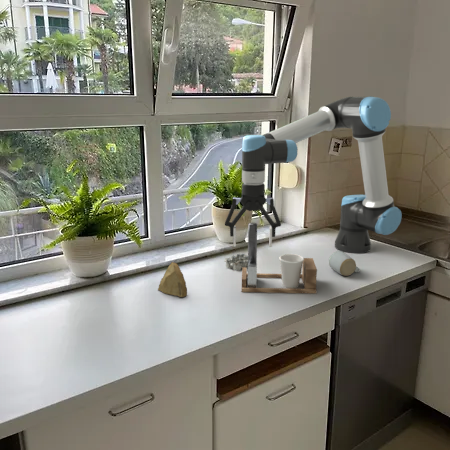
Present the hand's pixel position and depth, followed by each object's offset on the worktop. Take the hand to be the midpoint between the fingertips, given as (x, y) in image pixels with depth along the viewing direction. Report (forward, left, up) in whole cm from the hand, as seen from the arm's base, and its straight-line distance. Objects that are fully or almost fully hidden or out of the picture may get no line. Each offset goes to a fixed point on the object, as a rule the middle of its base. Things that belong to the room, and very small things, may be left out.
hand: (252, 245), depth 159 cm
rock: (+27, +9, -14) cm, 32 cm away
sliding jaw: (0, 0, -14) cm, 14 cm away
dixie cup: (-13, 0, -14) cm, 20 cm away
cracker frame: (-9, 0, -14) cm, 17 cm away
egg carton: (+5, -18, -15) cm, 24 cm away
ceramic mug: (-35, -13, -14) cm, 40 cm away
